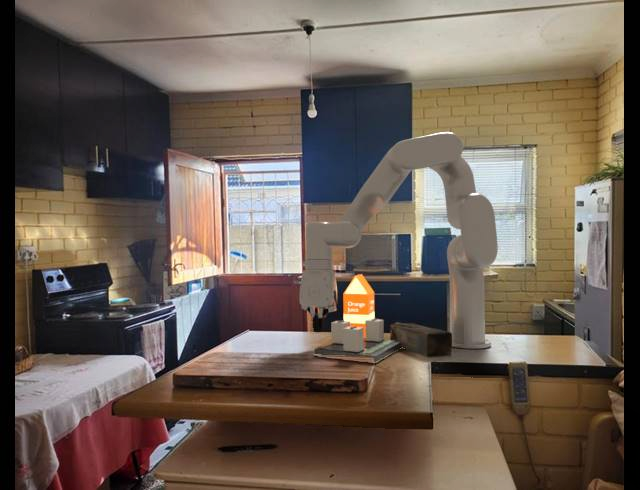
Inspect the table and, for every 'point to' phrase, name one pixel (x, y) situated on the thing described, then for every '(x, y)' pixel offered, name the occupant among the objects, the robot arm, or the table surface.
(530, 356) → the table surface
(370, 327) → the breaker
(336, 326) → the breaker mid
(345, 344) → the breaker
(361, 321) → the orange juice
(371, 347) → the panel
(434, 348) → the beverage carton
